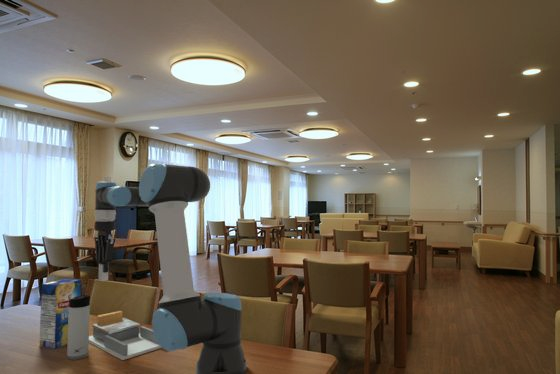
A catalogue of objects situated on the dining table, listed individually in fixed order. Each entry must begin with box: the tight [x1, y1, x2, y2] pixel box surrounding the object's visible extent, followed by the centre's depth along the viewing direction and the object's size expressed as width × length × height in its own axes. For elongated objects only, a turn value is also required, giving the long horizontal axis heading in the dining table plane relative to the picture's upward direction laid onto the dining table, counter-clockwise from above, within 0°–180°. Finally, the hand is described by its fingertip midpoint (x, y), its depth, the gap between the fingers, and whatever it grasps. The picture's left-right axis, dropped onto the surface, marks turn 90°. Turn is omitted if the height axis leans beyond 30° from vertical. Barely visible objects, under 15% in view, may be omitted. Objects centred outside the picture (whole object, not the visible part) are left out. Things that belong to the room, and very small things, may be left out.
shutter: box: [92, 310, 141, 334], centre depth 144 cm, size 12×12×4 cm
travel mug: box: [66, 294, 91, 361], centre depth 128 cm, size 6×7×20 cm
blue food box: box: [39, 278, 82, 350], centre depth 140 cm, size 7×11×22 cm, turn 163°
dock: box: [89, 325, 163, 361], centre depth 139 cm, size 28×16×4 cm, turn 50°
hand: (103, 280), depth 152 cm, fingers closed
